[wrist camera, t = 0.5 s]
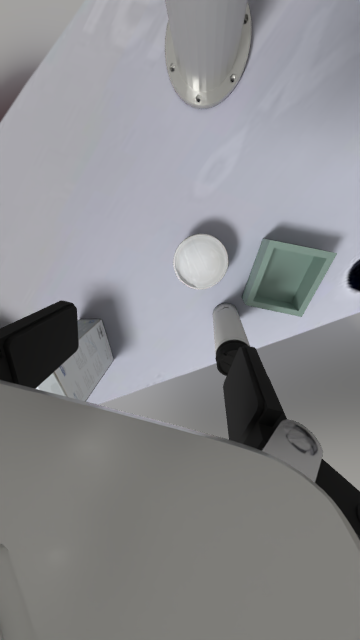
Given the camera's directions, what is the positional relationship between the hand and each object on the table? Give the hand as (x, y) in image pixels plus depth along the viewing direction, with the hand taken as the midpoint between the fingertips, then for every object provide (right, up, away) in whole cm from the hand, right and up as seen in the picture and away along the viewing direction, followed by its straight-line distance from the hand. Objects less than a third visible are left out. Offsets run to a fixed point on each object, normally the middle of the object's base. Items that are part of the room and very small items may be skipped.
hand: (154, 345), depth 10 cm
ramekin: (+6, +15, +32) cm, 36 cm away
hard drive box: (-24, -5, +47) cm, 53 cm away
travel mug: (+13, +3, +37) cm, 39 cm away
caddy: (+24, +12, +31) cm, 41 cm away
